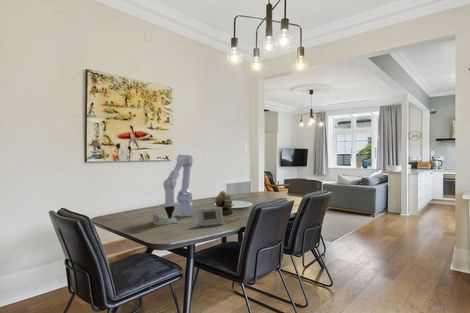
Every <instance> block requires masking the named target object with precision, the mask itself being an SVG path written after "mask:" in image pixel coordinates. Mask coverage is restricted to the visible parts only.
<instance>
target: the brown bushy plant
mask: <svg viewBox="0 0 470 313" xmlns="http://www.w3.org/2000/svg"><path fill="white" fill-rule="evenodd" d="M214 202H215V203H214V204H215V207H221V208H222V215H231V214H233V213H234V211H232V209H231V208H232V207H233V206H234V204H233V200H232V198H231V194H230V193H226V191H225V190H221V191H220V192H219V193H218V194H217V196H216V197H215V199H214Z"/></svg>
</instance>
